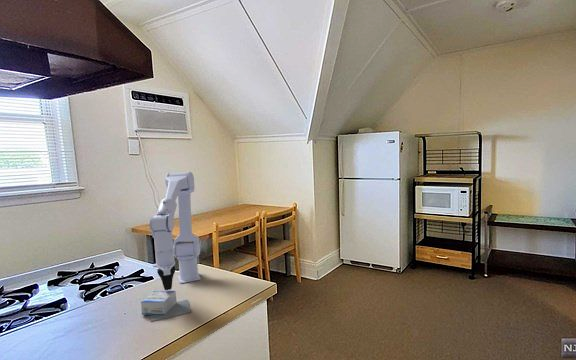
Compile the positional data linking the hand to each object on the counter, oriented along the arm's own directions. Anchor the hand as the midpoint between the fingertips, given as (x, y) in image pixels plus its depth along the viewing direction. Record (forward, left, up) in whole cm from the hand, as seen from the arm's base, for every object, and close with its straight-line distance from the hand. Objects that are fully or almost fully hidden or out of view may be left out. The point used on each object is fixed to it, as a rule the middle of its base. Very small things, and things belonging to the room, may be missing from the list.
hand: (168, 289), depth 111 cm
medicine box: (-2, -1, -3) cm, 4 cm away
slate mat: (+5, 0, -5) cm, 7 cm away
